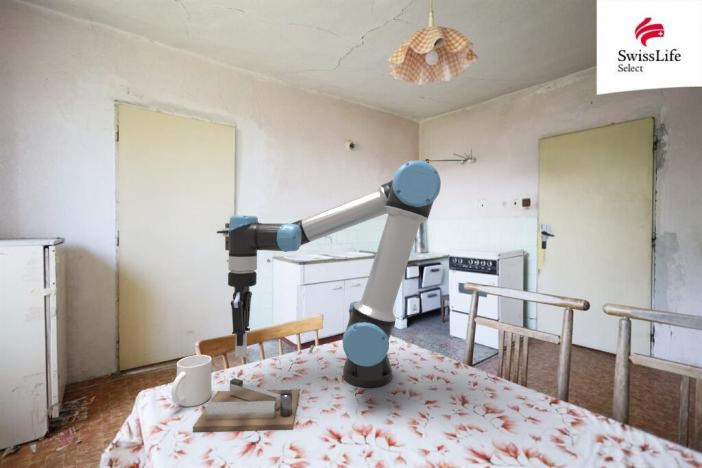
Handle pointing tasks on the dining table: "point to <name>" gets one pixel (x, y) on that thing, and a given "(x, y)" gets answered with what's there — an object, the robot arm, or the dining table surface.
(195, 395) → the mug
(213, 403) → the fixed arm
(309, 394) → the dining table surface
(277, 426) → the board
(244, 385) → the light grey long bar
